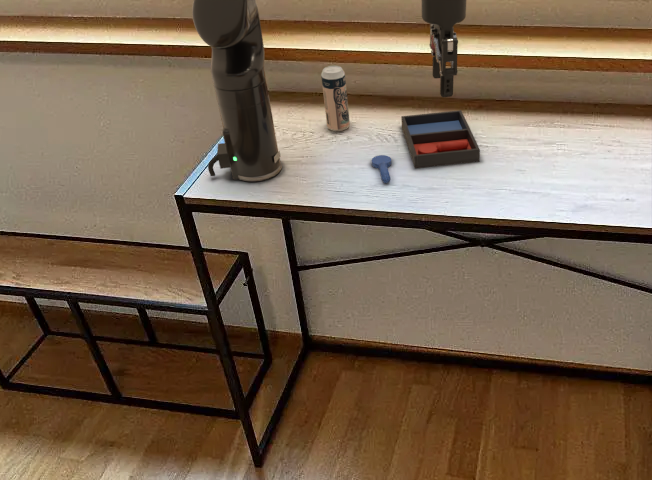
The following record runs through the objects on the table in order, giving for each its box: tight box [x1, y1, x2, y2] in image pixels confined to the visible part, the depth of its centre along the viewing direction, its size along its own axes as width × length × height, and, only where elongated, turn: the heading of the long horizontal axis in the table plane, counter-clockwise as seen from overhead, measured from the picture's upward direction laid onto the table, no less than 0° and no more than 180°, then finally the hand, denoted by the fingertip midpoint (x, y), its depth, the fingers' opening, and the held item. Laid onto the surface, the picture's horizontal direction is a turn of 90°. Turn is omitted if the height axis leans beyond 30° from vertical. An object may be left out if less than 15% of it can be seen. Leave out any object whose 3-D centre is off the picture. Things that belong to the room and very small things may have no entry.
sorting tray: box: [400, 109, 481, 169], centre depth 140 cm, size 13×18×2 cm
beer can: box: [320, 65, 351, 132], centre depth 144 cm, size 5×5×12 cm
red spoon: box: [418, 141, 468, 155], centre depth 137 cm, size 10×4×2 cm, turn 98°
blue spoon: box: [371, 154, 392, 184], centre depth 134 cm, size 10×4×2 cm, turn 8°
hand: (442, 86), depth 128 cm, fingers open, 8 cm apart
